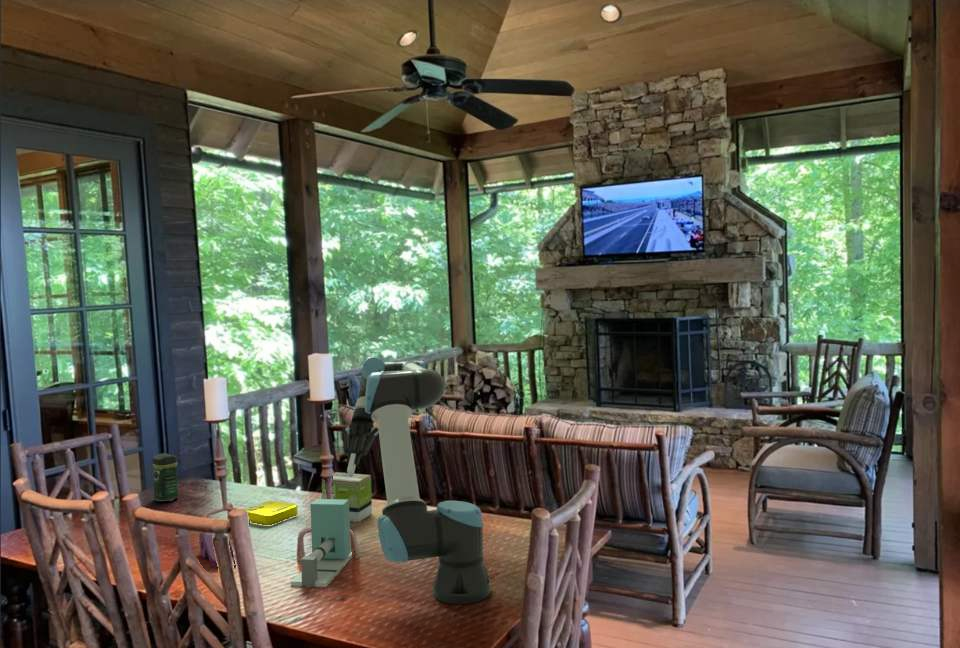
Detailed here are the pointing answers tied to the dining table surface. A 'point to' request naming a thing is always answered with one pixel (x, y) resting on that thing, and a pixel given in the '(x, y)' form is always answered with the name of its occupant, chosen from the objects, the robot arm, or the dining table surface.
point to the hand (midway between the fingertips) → (350, 473)
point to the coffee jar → (165, 476)
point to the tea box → (352, 493)
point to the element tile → (271, 512)
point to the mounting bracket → (210, 548)
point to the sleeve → (331, 526)
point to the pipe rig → (319, 567)
